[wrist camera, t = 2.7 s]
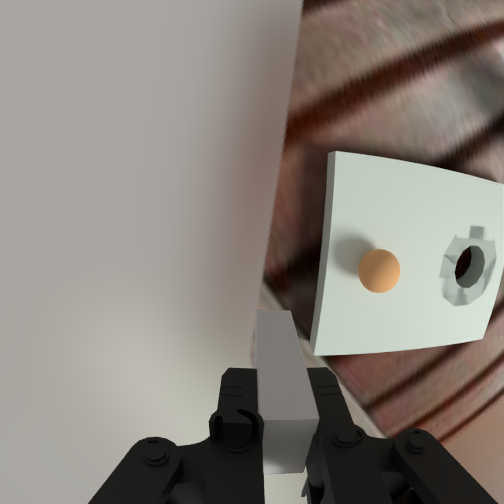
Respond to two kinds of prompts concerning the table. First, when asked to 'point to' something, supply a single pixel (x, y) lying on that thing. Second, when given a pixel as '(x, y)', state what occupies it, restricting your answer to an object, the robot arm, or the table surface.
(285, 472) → the robot arm
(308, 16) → the table surface
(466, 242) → the plate
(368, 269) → the ball
